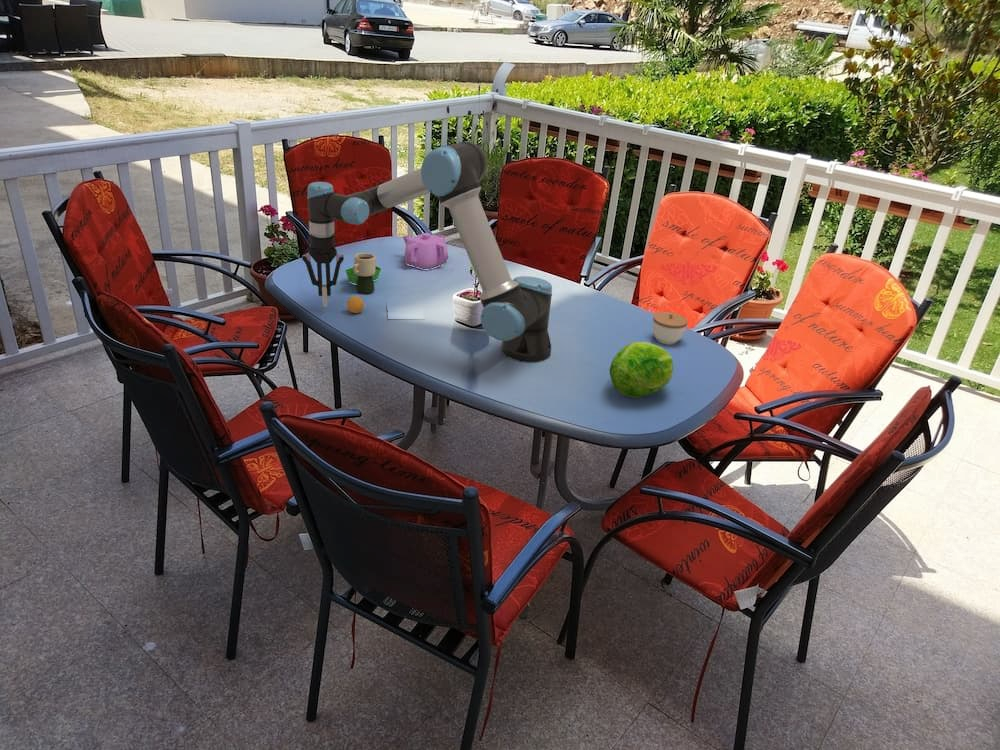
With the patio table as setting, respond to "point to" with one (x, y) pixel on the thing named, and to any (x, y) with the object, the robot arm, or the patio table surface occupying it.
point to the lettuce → (641, 369)
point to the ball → (355, 304)
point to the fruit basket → (353, 277)
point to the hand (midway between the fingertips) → (325, 304)
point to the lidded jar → (668, 327)
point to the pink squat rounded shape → (425, 250)
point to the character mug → (364, 271)
